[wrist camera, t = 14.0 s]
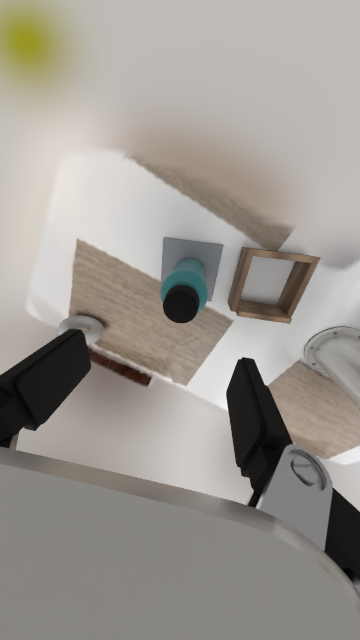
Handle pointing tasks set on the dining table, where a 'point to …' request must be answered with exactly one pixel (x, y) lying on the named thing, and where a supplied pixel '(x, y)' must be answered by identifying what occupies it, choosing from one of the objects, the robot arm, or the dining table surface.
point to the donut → (83, 322)
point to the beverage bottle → (184, 291)
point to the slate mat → (197, 250)
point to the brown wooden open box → (289, 295)
